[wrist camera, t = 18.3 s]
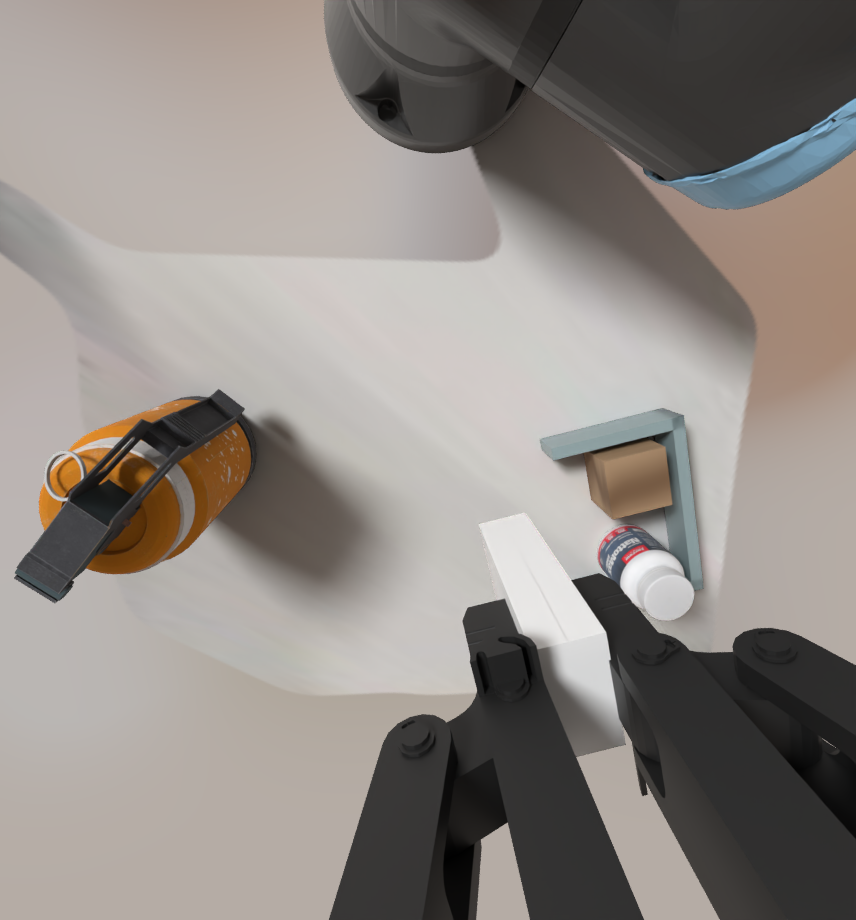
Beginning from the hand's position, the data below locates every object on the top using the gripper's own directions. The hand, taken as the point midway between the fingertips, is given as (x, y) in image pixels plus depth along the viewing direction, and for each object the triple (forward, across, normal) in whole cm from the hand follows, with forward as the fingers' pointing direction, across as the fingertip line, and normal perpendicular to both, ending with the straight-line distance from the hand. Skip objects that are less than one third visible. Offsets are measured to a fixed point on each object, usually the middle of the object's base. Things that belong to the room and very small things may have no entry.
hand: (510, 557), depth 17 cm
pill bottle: (+30, +14, -17) cm, 37 cm away
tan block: (+30, +14, -9) cm, 34 cm away
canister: (+30, -19, +2) cm, 35 cm away
